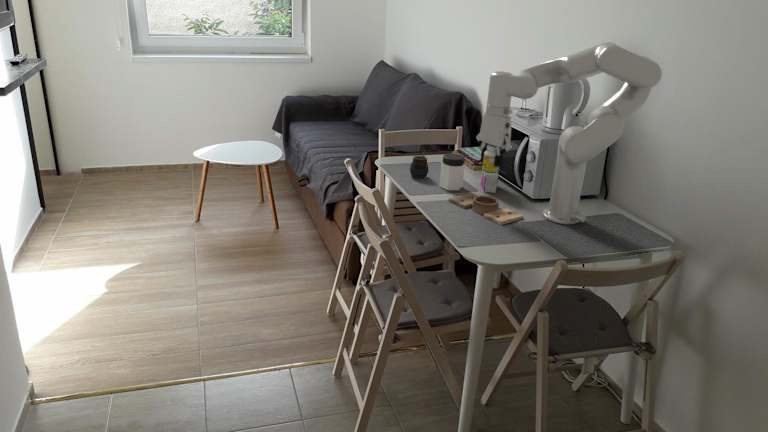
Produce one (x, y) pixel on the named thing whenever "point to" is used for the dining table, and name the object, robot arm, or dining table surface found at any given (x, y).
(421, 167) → the mate gourd
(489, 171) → the supplement bottle
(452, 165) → the jar
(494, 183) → the candy bar box
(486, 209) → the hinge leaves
